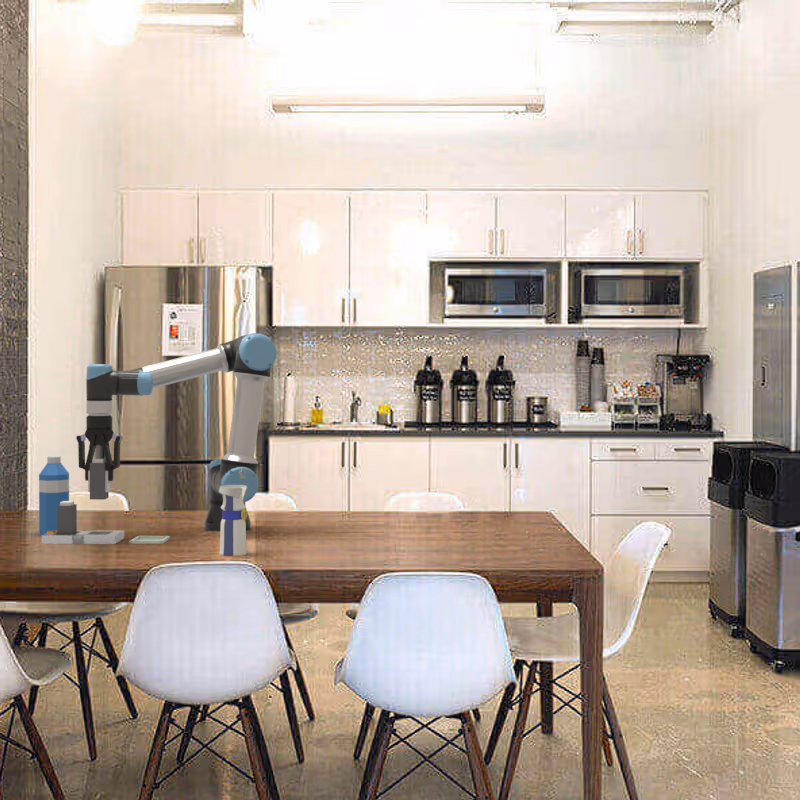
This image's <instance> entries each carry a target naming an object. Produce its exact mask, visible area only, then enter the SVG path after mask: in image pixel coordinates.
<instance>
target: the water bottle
mask: <svg viewBox="0 0 800 800" xmlns="http://www.w3.org/2000/svg"><path fill="white" fill-rule="evenodd" d="M46 461H47V462H46V464H45V465H44V467H43V468H42V469H41V472H40V473H39V475H38V498H39V499H38V506H39V507H38V509H39V511H38V517H39V520H38V521H39V522H38V524H39V528H38V529H39V530H38V532H39V536H42V535H44V534H46V533H47V531H50V530H57V506H58V505H60V502H62V501H70V473H69V472H68V470H67V468H65V466H64V465H63V464H62V459H61V456H59V455H57V456H56V455H55V456H53V455H52V456H47V460H46Z"/></svg>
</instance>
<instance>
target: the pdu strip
mask: <svg viewBox="0 0 800 800" xmlns="http://www.w3.org/2000/svg"><path fill="white" fill-rule="evenodd" d="M123 540H125V530H124V529H123V530H121V529H120V530H109V529H108V530H99V529H97V530H94V529H93V530H91V529H90V530H89V529H88V530H87V529H86V530H84V529H83V530H82V529H81V530H79V529H77V533H76V534H74V535H57V530H50V531H47V533H46V534H44V535H41V544H42V545H116V544H117V543H120V542H121V541H123Z"/></svg>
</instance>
